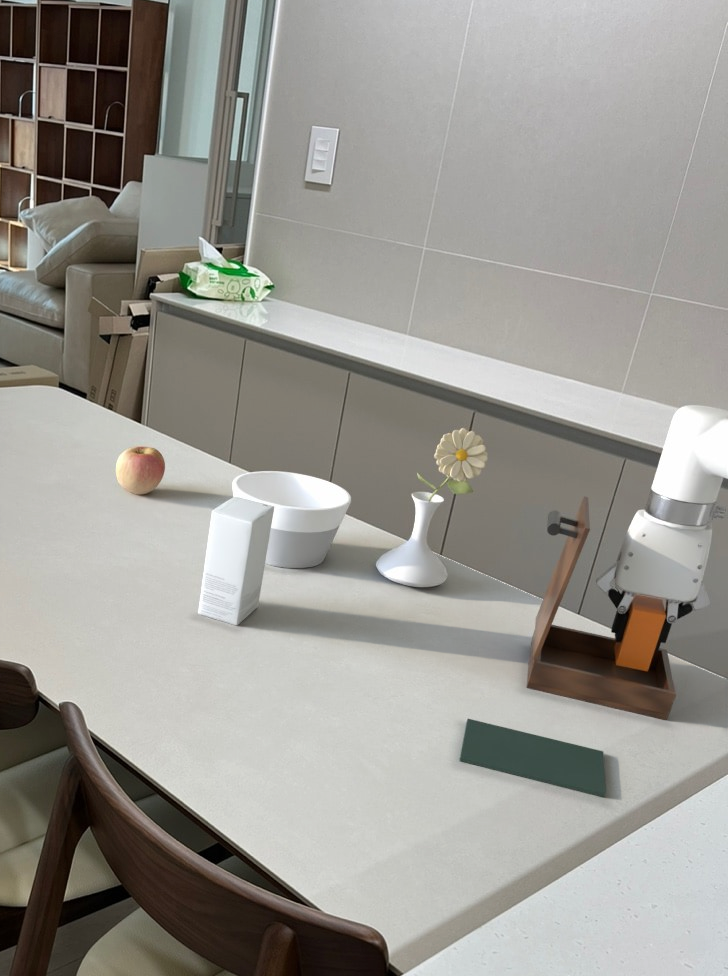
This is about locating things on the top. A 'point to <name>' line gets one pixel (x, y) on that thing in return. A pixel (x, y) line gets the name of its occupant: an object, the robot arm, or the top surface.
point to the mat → (534, 757)
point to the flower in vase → (415, 558)
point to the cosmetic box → (235, 559)
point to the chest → (600, 673)
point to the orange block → (640, 633)
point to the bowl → (296, 514)
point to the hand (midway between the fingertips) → (636, 641)
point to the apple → (140, 469)
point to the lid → (561, 568)
